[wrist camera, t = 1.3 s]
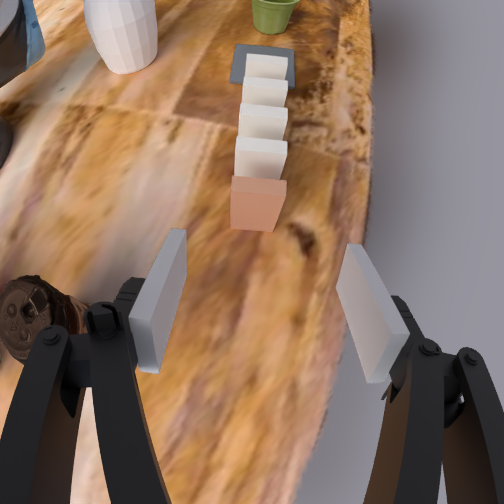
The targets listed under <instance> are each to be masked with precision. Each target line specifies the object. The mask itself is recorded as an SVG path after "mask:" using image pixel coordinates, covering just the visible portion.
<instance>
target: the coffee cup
mask: <svg viewBox="0 0 504 504" xmlns="http://www.w3.org/2000/svg"><path fill="white" fill-rule="evenodd" d="M90 306H91V305H90V304H88V303H82V302H79V301H77V300H76V299H75V298H73V297H72V296H70V295H65V294H63V293H61V292H59V290H57V289H56V288H54V287H53V286H51V285H50V284H48V283H47V282H46V281H44V280H42V279H41V278H40V276H39V275H35V276H33V275H32V276H28V275H26V276H22V277H19V278H17V279H16V280H11V281H10V282H9V283H8V284H7V285H6V286H5V287H4V289H3V291H2V293H1V294H0V338H1V340H2V341H3V343H4V344H5V346H6V348H7V349H8V350H9V353H10V354H11V355H12V356H13V357H14V358H15V359H17V360H18V361H19V362H21V363H22V364H23V365H25V362H26V360H27V357H28V355H29V352H30V350H31V347H32V345H33V342H34V340H35V338H36V336H37V334H38V333H39V331H40V330H42V329H43V328H44V327H47V326H50V325H60V326H63V327H64V328H65V329H66V330H67V332H68V334H69V335H74V334H84V333H88V331H87V328H86V325H85V321H84V318H83V315H84V312H85V311H86V309H87V308H88V307H90Z"/></svg>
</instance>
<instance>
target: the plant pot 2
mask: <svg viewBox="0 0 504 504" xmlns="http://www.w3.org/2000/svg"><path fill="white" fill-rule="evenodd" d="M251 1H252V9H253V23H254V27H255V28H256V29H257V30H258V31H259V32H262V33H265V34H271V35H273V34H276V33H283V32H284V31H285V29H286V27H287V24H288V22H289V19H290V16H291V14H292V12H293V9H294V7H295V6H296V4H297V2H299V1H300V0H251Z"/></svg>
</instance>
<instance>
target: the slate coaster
mask: <svg viewBox="0 0 504 504" xmlns="http://www.w3.org/2000/svg"><path fill="white" fill-rule="evenodd" d="M247 53H248V54H260V55H270V56H279V57H287V58H288V66H287V71H286V76H285V80H286V81H288V89H294V88H295V73H294V50H292V49H285V48H276V47H267V46H257V45H244V44H236V46H235V52H234V57H233V63H232V69H231V75H230V81H229V83H234V84H243V81H244V76H245V69H246V58H247Z"/></svg>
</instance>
